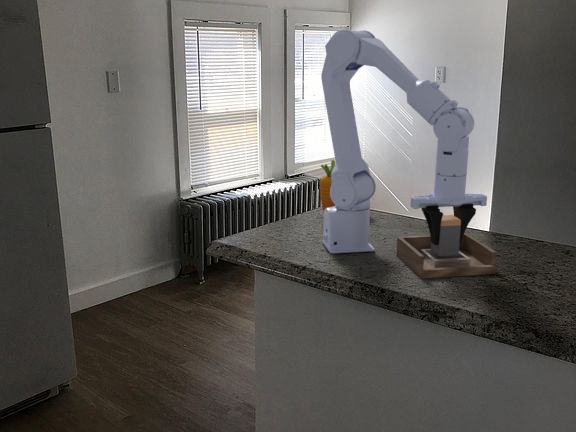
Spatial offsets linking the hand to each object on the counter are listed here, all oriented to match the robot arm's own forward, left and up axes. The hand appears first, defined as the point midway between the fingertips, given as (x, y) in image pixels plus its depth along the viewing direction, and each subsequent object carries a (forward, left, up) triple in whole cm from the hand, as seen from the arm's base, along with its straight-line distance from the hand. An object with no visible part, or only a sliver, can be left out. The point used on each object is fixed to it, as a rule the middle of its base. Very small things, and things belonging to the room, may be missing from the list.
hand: (445, 242), depth 119 cm
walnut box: (0, 0, -4) cm, 4 cm away
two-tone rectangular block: (0, 0, -2) cm, 2 cm away
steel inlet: (0, 0, -4) cm, 4 cm away
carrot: (-15, +33, -5) cm, 37 cm away
